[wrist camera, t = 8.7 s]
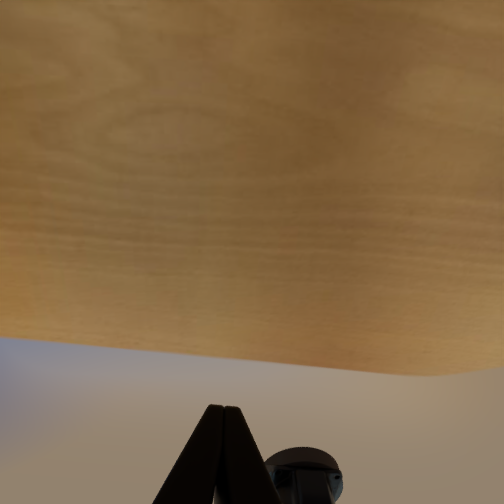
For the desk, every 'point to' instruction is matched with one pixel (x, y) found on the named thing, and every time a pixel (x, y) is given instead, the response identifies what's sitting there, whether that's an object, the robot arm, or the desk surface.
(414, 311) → the desk surface
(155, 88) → the desk surface
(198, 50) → the desk surface
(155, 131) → the desk surface
